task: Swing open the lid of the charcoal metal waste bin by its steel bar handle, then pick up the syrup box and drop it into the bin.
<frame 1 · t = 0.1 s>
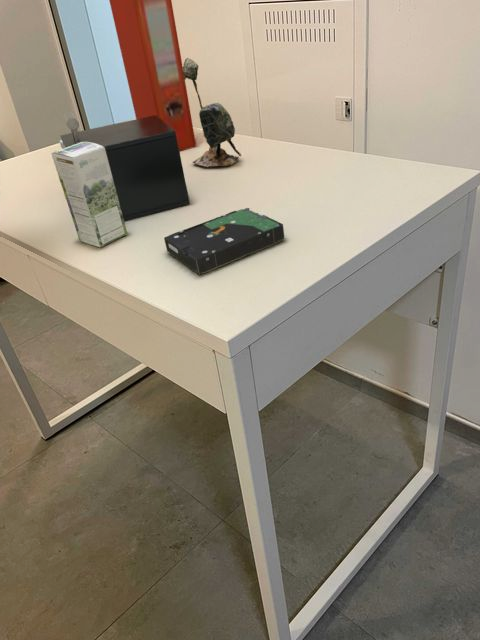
file binder: (168, 143, 131), on the table
bin: (136, 203, 100), on the table
plant with pod: (220, 164, 114), on the table
syrup box: (104, 239, 89), on the table
disk drive: (226, 248, 82), on the table
pill bottle: (87, 190, 110), on the table
bin lid: (113, 122, 92), point 14 cm above the table, hinge at 0.0°
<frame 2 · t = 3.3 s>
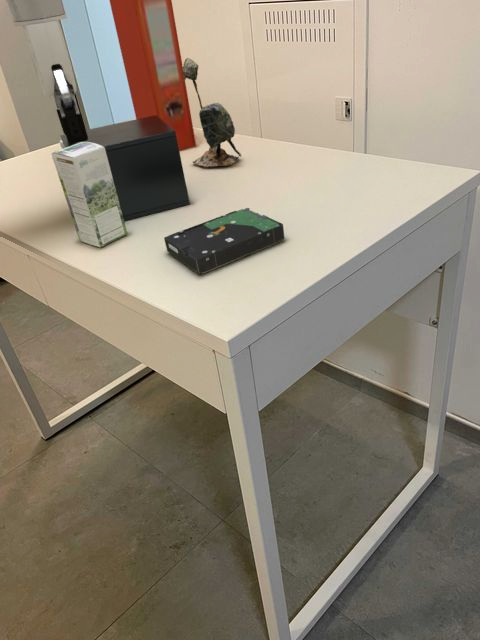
hand: (75, 136, 91), 13 cm above the table, tool pointing down, fingers closed on bin lid, 6 cm apart
bin lid: (113, 122, 92), point 14 cm above the table, hinge at 0.0°, touching gripper
everything else where it was.
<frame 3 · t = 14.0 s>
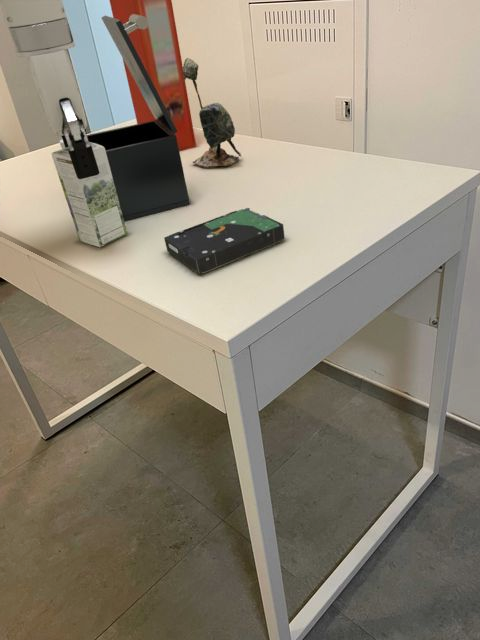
hand: (84, 167, 82), 12 cm above the table, tool pointing down, fingers open, 9 cm apart
bin lid: (150, 68, 90), point 21 cm above the table, hinge at 72.9°
everything else where it was.
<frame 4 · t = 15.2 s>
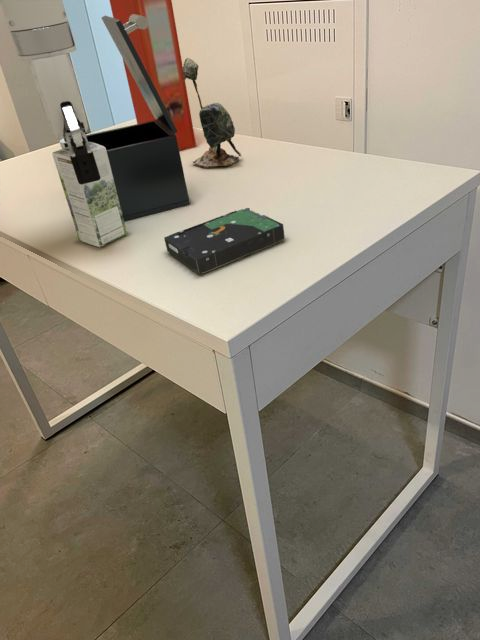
hand: (86, 173, 83), 11 cm above the table, tool pointing down, fingers closed on syrup box, 7 cm apart
syrup box: (104, 239, 89), on the table, touching gripper
everything else where it was.
when the fingers open (21 cm above the table, at t = 21.3 s): syrup box drops 10 cm, resting on bin.
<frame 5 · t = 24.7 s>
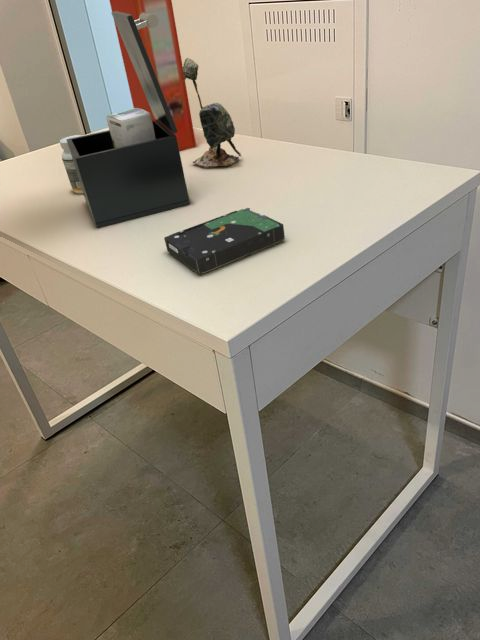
syrup box: (147, 196, 101), point 1 cm above the table, touching bin
bin lid: (156, 67, 90), point 21 cm above the table, hinge at 78.9°
everything else where it was.
at the end: bin lid at +79° (first picture: +0°); syrup box inside the target area in the bin (2.3 cm from its centre), point 0.6 cm above the bin's base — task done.
